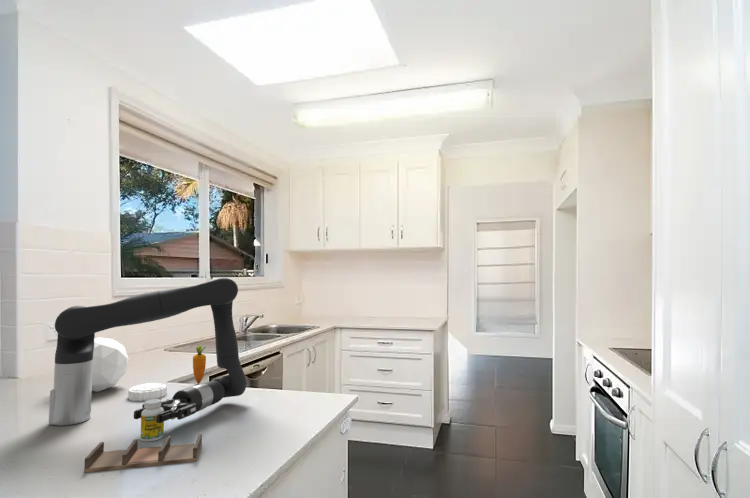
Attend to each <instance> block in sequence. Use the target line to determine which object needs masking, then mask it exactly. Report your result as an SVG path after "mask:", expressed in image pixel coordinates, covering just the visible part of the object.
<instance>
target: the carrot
mask: <svg viewBox="0 0 750 498" xmlns="http://www.w3.org/2000/svg"><path fill="white" fill-rule="evenodd" d="M202 346H203V345H197V346H196V347H195V348H196V352H197V353H196V354H194V355H193V357H192V370H193V376H194V378H195V381H196V383H197V385H200V383H201V382H202V380H203V378H204V376H205V373H206V371H205V370H206V364H207V363H206V361H207V356H206V355H205V353H202V352H203V351H204V350H205V349H207V347H206V346H204V347H202Z"/></svg>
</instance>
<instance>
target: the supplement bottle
mask: <svg viewBox="0 0 750 498" xmlns="http://www.w3.org/2000/svg"><path fill="white" fill-rule="evenodd" d="M160 399H161V398H158V399H152V400H147V401H144V402H143V404H144V407H145V409H144V410H143V411H142V413H141V418H140V440H141V442H142V441H143V442H146V443H147V442H155V441H158V440H160V439H162V438H163V437H164V433H165V432H164V427H165V425H164V424H165V423H164V422H165V421H164V422H162V423H157V415H158V414H160V413H163V412H164V409H163V408H162V407H160V406H161V401H162V399H161V400H160Z"/></svg>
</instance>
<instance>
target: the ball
mask: <svg viewBox="0 0 750 498" xmlns="http://www.w3.org/2000/svg"><path fill="white" fill-rule="evenodd" d="M129 362H130V360H129V356H128V353H127V350H126V347H125V346H124V345H123V344H122V343H120V342H119V341H117V340H115V339H112V338H108V337H96V338H94V351H93V371H92V392H101V391H103V390H106V389H109V388H111V387H114V386H116V385H117V384H118V383H119V381H120V380H121V379H122V378H123V377H124V375H125V374H126V371H127V368H128V365H129Z"/></svg>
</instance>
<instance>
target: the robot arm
mask: <svg viewBox="0 0 750 498" xmlns="http://www.w3.org/2000/svg"><path fill="white" fill-rule="evenodd" d="M238 294H239V286H238V285H237V283H236V282H235V281H234V280H233V279H231V278H228V277H219V278H216V279H212V280H209V281H206V282H202V283H199V284H195V285H190V286H182V287H181V286H180V287H174V288H173V287H172V288H166V289H161V290H154V291H149V292H144V293H139V294H136V295H132V296H130V297H126V298H124V299H120V300H117V301H115V302H110V303H107V304H99V305H93V306H92V305H91V306H84V305H73V306H70V307H68V308H66V309H64V310H63V311H61V313H59V314H58V316H56V319H55V322H54V330H55V332H56V333H57V340H56V341H57V343H56V350H55V354H54V369H53V370H54V375H53V389H51V390H50V391H49V404H48V405H49V406H48V408H49V409H48V410H49V411H48V425H52V426H53V425H54V426H69V425H75V424H80V423H83V422H85V421H88V420H90V418H91V413H92V392H93V391H92V371H93V351H94V339H95V337H96V336H95V334H96V333H99V332H101V331H106V330H109V329H113V328H117V327H125V326H132V325H134V326H135V325H139V324H144V323H151V322H154V321H160V320H164V319H167V318H171V317H174V316H177V315H181V314H183V313H186V312H188V311H190V310H193V309H197V308H200V307H207V306H210V308H211V313H212V319H213V324H214V337H215V355H216V363H217V366H218V368H219V369H225V370H226V371H227V373H228V374H227V375H222V376H218V377H215V378H213V379H212V380H210V381H207V382H204V383H201V384H200V383H199V384H196V385H193V386H189V387H186V388H183V389H181V390H178V391H176V392H175V393H174V395H173V397H172V398H166V400H162V398H159V399H160V400H161V406H160V407H162V408H163V409H164V412H163V413H160V414H158V415H157V423H162V422H166V421H169V420H176V419H177V420H182V419H185V418H187V417H190V416H192V415H194V414H195V415H196V413H198V412H201V411H203V410H204V409H207V408H208V407H210V406H213V405H215V404H217V403H219V402H220V401H222V400H223V399H225V398H231V397H233V398H234V397H239V396H241V395H243V394H244V393H245V391H246V389H247V378H246V375H245V372H244V369H243V367H242V364H241V362H240V358H239V357H240V355H239V347H238V337H237V334H236V330H235V326H234V319H233V301H234V300H235V299H236V298H237V295H238ZM141 406H142V407H141V408H139V409H136V410H134V411H133V420H139V419H141V413H142V411H143V410H144V409H145V407H144V403H143V404H142V405H141Z"/></svg>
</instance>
